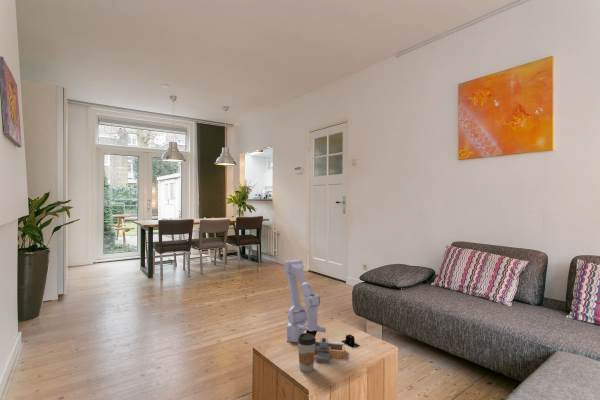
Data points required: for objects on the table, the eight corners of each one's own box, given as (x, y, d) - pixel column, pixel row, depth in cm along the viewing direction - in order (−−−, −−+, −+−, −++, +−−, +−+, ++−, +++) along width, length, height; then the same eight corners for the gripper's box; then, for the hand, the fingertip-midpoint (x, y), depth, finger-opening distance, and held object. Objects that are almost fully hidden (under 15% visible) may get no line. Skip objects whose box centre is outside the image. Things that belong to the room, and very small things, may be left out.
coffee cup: (299, 374, 142) (299, 341, 142) (295, 364, 150) (296, 333, 150) (317, 372, 143) (317, 339, 143) (312, 363, 152) (313, 332, 152)
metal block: (319, 349, 161) (319, 340, 161) (320, 346, 165) (320, 336, 165) (327, 350, 160) (327, 340, 160) (327, 347, 164) (328, 337, 164)
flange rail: (310, 354, 160) (311, 348, 160) (313, 347, 168) (313, 341, 168) (343, 358, 157) (343, 351, 157) (344, 350, 165) (344, 344, 165)
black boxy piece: (337, 341, 177) (337, 333, 177) (347, 338, 181) (347, 330, 181) (353, 350, 167) (353, 341, 167) (363, 347, 171) (363, 338, 171)
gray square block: (316, 362, 153) (316, 358, 153) (318, 356, 159) (318, 352, 159) (329, 363, 152) (329, 359, 152) (330, 357, 158) (330, 353, 158)
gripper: (296, 320, 162) (296, 346, 162) (325, 322, 159) (324, 349, 159) (299, 315, 169) (299, 340, 169) (326, 317, 166) (326, 343, 166)
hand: (311, 344), depth 164 cm, fingers closed
